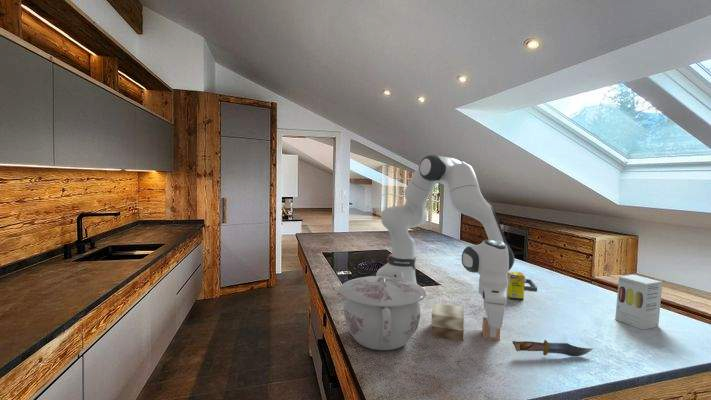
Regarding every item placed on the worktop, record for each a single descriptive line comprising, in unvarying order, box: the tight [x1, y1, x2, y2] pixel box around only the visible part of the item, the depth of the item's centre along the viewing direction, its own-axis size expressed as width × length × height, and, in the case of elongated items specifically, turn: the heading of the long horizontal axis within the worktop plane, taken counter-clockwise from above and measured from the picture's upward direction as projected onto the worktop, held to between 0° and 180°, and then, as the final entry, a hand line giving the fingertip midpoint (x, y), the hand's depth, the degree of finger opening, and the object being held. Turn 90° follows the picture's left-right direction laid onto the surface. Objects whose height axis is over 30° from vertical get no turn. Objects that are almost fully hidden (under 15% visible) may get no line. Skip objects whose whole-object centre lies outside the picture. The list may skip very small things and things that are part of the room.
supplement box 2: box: [614, 274, 663, 331], centre depth 122 cm, size 10×9×17 cm
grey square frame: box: [524, 278, 538, 291], centre depth 164 cm, size 14×14×2 cm
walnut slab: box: [431, 326, 465, 342], centre depth 113 cm, size 10×10×4 cm
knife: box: [511, 339, 593, 358], centre depth 98 cm, size 25×1×5 cm, turn 92°
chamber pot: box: [339, 275, 427, 351], centre depth 106 cm, size 28×28×21 cm
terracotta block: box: [481, 316, 501, 341], centre depth 111 cm, size 5×5×5 cm
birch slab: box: [430, 303, 465, 331], centre depth 112 cm, size 10×10×4 cm
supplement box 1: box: [507, 270, 526, 301], centre depth 146 cm, size 6×6×11 cm
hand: (491, 329), depth 111 cm, fingers open, 8 cm apart
